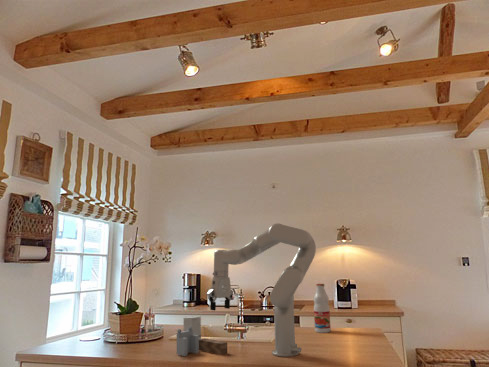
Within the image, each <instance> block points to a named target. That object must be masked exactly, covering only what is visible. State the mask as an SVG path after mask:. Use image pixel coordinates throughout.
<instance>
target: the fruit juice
mask: <svg viewBox="0 0 489 367" xmlns="http://www.w3.org/2000/svg"><path fill="white" fill-rule="evenodd" d="M315 285H316V290H315V293H314V296H313V316H314V319H313V320H314V331H315V332H316V333H319V334H321V333H322V334H323V333H325V334H327V333H330V332H331V315H330V314H331V313H330V305H329V300H330V299H329V296H328V293H327V292H326V288H325V284H324V283H315Z"/></svg>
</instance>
